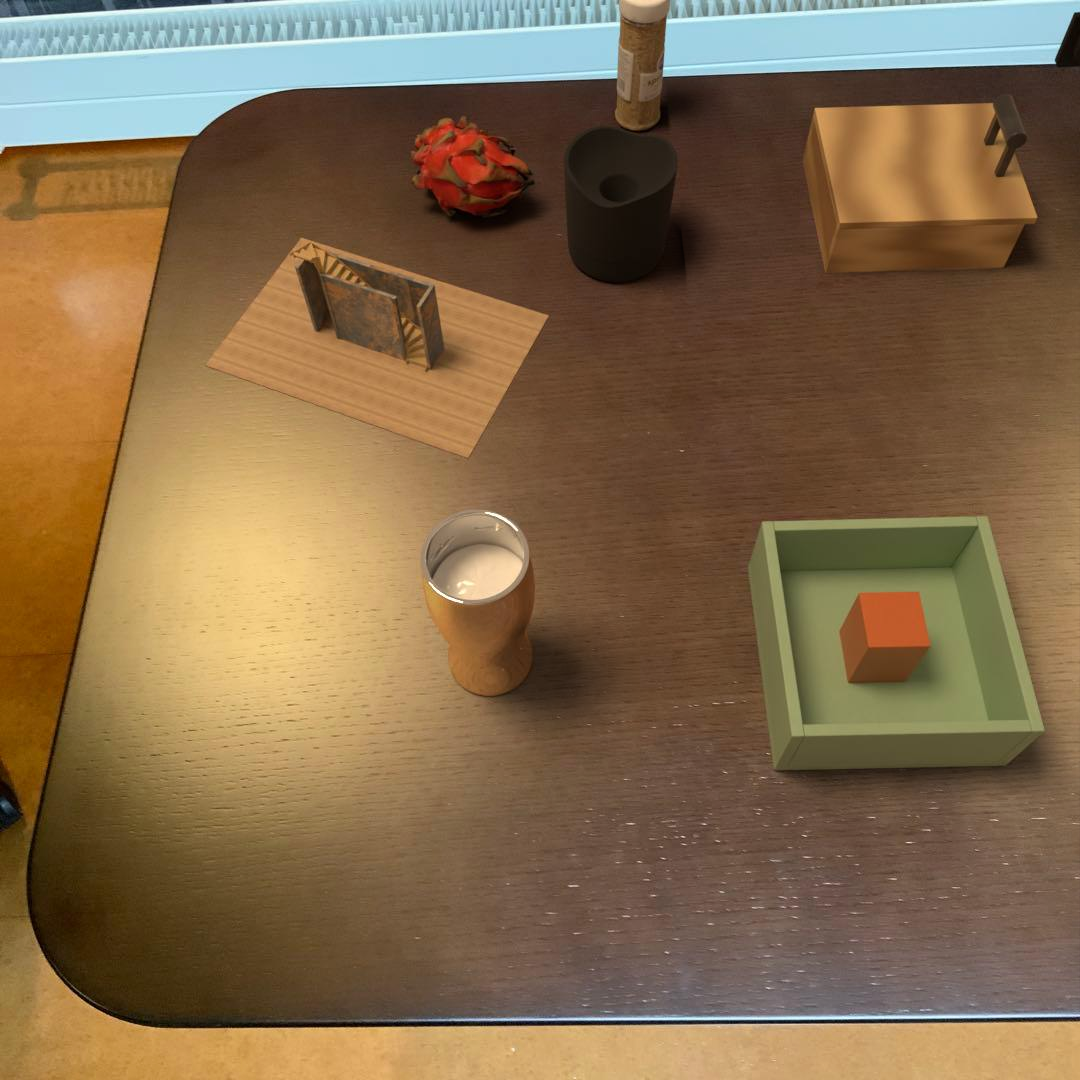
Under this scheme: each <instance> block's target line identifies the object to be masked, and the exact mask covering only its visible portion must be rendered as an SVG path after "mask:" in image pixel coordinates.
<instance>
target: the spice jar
mask: <svg viewBox="0 0 1080 1080" xmlns="http://www.w3.org/2000/svg"><path fill="white" fill-rule="evenodd" d="M670 8H671V0H618V11H619V14H620V18H619V19H620V20H619V37H618V44H617V46H618V47H617V51H618V52H617V74H616V92H617V94H616V96H617V99H616V108H615V111H614V117H615V120H616V122H617V123H618V125H619V126H621V128H623V129H625V130H628V131H631V132H640V131H646V130H649V129H651V128H653V127H655V125H656V124H657V123H659V120H660V119H661V110H660V108H661V107H660V106H661V96H662V95H661V94H662V89H663V78H664V77H663V76H664V66H665V65H664V64H665V52H666V46H665V44H666V42H665V41H666V34H667V33H666V31H667V20H668V19H667V18H668V15H669V13H670Z"/></svg>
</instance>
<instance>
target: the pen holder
mask: <svg viewBox="0 0 1080 1080" xmlns="http://www.w3.org/2000/svg"><path fill="white" fill-rule="evenodd" d="M678 165H679V159H678V154H677V151H676V149H675V147H674V146H673V144H672V143H671V142H670V140H668V139H667V138H665V137H663V136H661V135H657V134H650V133H649V134H648V133H638V132H635V131H631V130H628V129H625V128H620V127H617V126H613V125H597V126H593V127H591V128H588V129H585V130H583V131H582V132H581V133H579V134H578V135H577V136H575V137H574V138H573V139H572V141H571V142H570V143H568V146H567V147H566V149H565V152H564V156H563V173H564V174H563V175H564V193H565V195H564V196H565V214H566V215H565V216H566V231H567V232H566V233H567V242H568V243H567V245H568V252H569V255H570V258H571V259H572V261H573V263H574V264H575V265H576V267H577V268H578V269H580V270H581V271H582V272H583V273H585V274H586V275H588V276H589V277H592V278H594V279H596V280H600V281H602V282H607V283H608V282H609V283H624V282H625V283H626V282H630V281H634V280H637V279H640V278H642V277H644V276H645V275H647V274H648V273H650V272H651V271H653V270H654V269H655V268H656V267H657V265H659V263H660V261H661V260H662V257H663V255H664V251H665V245H666V240H667V235H668V229H669V223H670V218H671V217H670V216H671V210H672V205H673V204H672V203H673V199H674V198H673V197H674V192H675V185H676V179H677V172H678Z"/></svg>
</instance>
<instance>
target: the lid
mask: <svg viewBox="0 0 1080 1080" xmlns="http://www.w3.org/2000/svg"><path fill="white" fill-rule="evenodd" d="M813 115H814V119H815V124H816V128H817V133H818V137H819V142H820V146H821V151H822V156H823V160H824V165H825V169H826V174H827V178H828V183H829V188H830V192H831V197H832V201H833V206H834V210H835V215H836V220H837V224H838V228H839V229H851V228H890V227H929V226H968V225H1006V224H1025V225H1034V224H1036V222H1037V220H1038V217H1039V216H1038V214H1037V212H1036V209H1035V206H1034V204H1033V201H1032V198H1031V195H1030V192H1029V189H1028V186H1027V184H1026V181H1025V178H1024V176H1023V172H1022V170H1021V167H1020V164H1019V162H1018V159H1017V155H1016V151H1017V149H1020V148H1022V147H1023V146H1024V145H1025V144H1026V143H1027V140H1028V136H1027V135H1028V134H1027V133H1026V129H1025V127H1024V125H1023V122H1022V119H1021V116H1020V114H1019V111H1018V108H1017V105H1016V103H1015V100H1014V97H1013V95H1011V94H1009V93H1003V94H1000V95H998V96H997V97H996V98H995V99H994V101H993V102H982V103H945V104H912V105H910V104H909V105H907V104H906V105H875V106H874V105H869V106H837V107H832V106H831V107H814V110H813Z"/></svg>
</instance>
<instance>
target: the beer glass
mask: <svg viewBox="0 0 1080 1080" xmlns="http://www.w3.org/2000/svg"><path fill="white" fill-rule="evenodd" d="M419 563H420V569H421V570H420V571H421V579H422V589H423V594H424V599H425V603H426V606H427V610H428V613H429V615H430V618H431V619H432V622H433V623H434V625H435V626H436V628H437V630H438V632H439V633H440V635H441V637H443V639H444V640H445V642H446V643H447V644H448V651H447V652H448V653H447V661H448V666H449V670H450V673H451V674H452V676H453V678H454V679H455V681H456V683H458V684H459V685H460V686H461V687H462V688H464V689H465V690H467V691H469V692H470V693H472V694H475V695H479V696H483V697H484V696H485V697H494V696H500V695H503V694H507V693H508V692H511V691H513V690H515V689H516V688H517V687H519V686H520V685H521V683H522V682H524V680H525V679H526V678H527V676H528V675H529V673H530V670H531V668H532V664H533V659H534V658H533V656H534V654H533V651H534V650H533V646H532V641H531V640H530V637H529V635H528V634H527V631H528V629H529V626H530V623H531V619H532V616H533V612H534V606H535V603H536V602H535V600H536V583H535V574H534V567H533V562H532V558H531V554H530V546H529V542H528V540H527V537H526V535H525V533H524V531H523V530H522V529H521V528H520V526H519V525H517V524H516V522H515V521H514V520H512V519H510V518H509V517H507V516H506V515H503V514H502V513H499V512H497V511H493V510H489V509H481V508H473V509H465V510H461V511H457V512H455V513H454V512H453V513H452V514H449V515H448V516H445V518H443V519H441V520H440V521H439V522H438V523H436V524H435V525H434V526H433V527H432V528H431V530H429V532H428V533H427V535H426V537H425V539H424V541H423V543H422V546H421V549H420V556H419Z"/></svg>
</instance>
